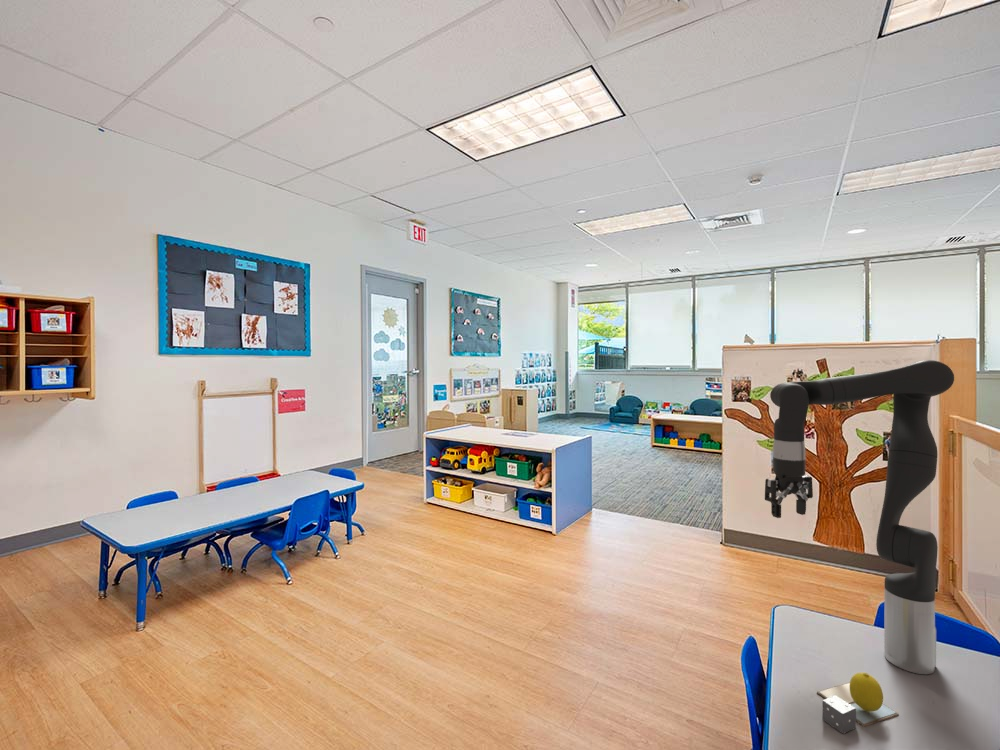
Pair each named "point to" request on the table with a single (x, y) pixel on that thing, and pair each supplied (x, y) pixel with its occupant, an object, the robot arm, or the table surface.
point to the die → (839, 714)
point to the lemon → (866, 692)
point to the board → (861, 715)
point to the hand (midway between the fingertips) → (788, 515)
